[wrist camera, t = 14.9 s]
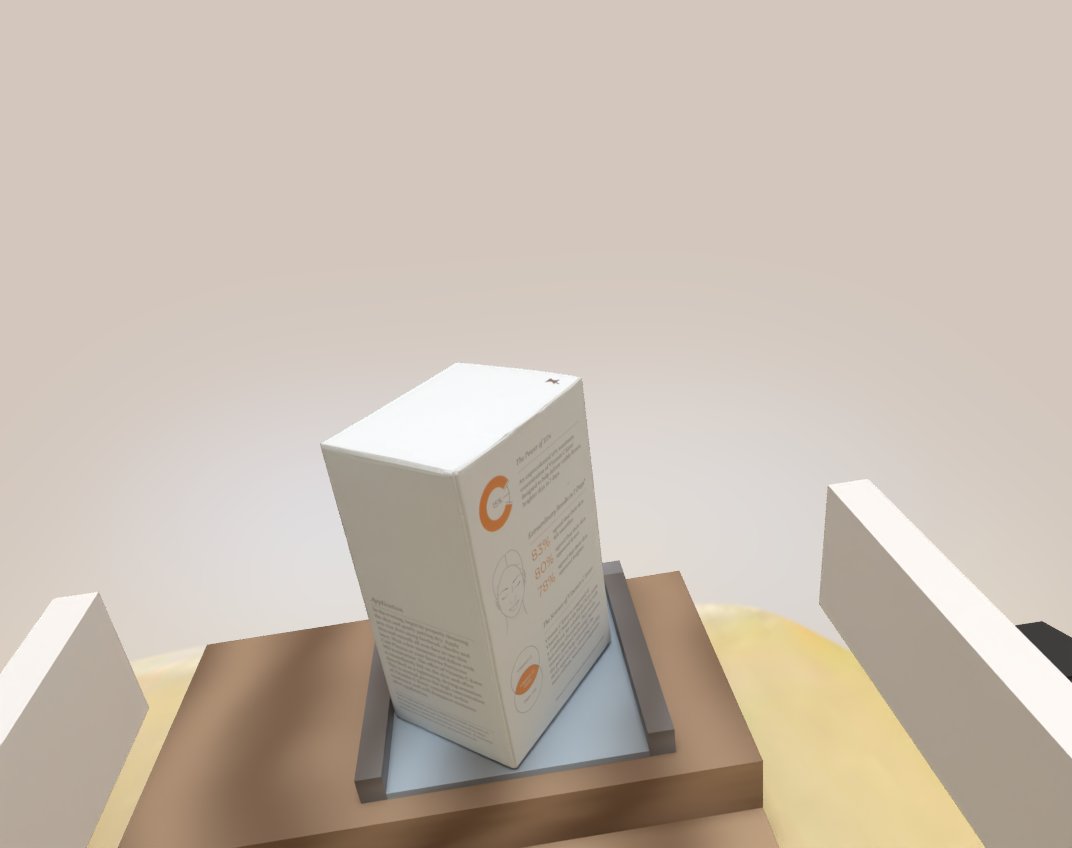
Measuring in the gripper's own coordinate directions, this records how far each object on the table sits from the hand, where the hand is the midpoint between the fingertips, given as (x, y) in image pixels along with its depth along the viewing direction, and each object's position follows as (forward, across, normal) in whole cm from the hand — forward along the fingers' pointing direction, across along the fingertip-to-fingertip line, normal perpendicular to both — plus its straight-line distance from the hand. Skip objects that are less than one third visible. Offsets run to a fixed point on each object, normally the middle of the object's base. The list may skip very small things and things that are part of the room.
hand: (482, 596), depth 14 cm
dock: (+12, -3, -21) cm, 24 cm away
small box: (+14, 0, -16) cm, 21 cm away
